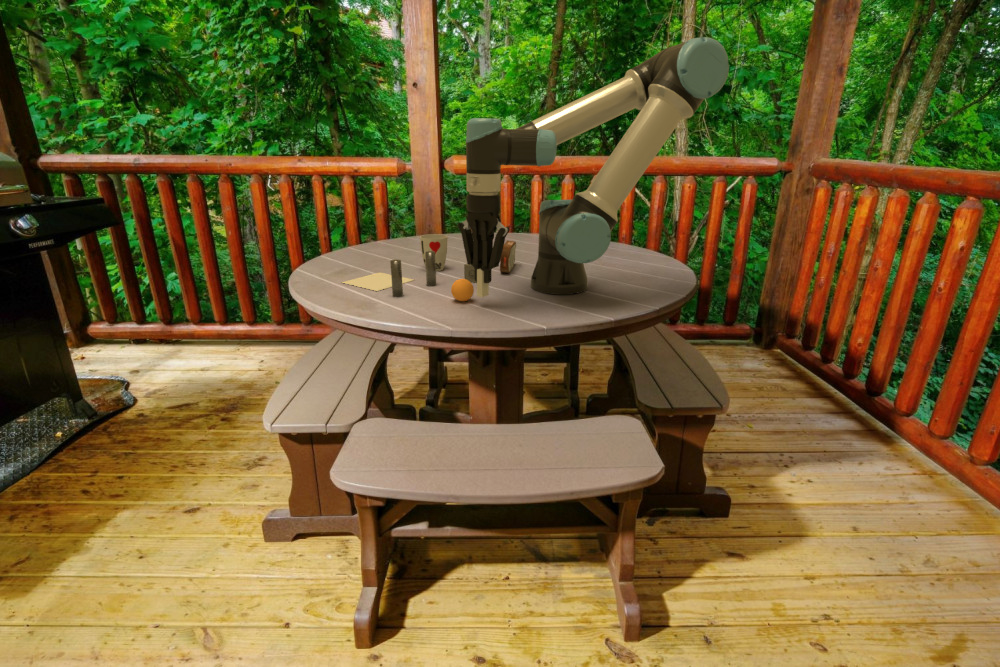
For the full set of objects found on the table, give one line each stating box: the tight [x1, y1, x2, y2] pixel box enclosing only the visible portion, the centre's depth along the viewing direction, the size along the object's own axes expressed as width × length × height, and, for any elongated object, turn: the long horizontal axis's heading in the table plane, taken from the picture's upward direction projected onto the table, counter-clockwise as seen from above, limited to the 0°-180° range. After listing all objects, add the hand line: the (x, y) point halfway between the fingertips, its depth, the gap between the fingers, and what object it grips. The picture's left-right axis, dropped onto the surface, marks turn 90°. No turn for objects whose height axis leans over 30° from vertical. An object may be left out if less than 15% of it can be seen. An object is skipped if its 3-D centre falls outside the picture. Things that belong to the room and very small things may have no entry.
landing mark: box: [341, 271, 415, 292], centre depth 146 cm, size 14×14×1 cm
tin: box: [499, 240, 517, 274], centre depth 158 cm, size 15×3×8 cm, turn 170°
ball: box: [450, 278, 475, 302], centre depth 129 cm, size 6×6×6 cm
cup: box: [419, 233, 448, 272], centre depth 158 cm, size 8×8×10 cm
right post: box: [425, 251, 437, 287], centre depth 142 cm, size 3×3×9 cm
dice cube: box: [463, 263, 477, 284], centre depth 147 cm, size 5×5×5 cm
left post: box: [389, 259, 404, 298], centre depth 132 cm, size 3×3×9 cm
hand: (482, 295), depth 125 cm, fingers closed
